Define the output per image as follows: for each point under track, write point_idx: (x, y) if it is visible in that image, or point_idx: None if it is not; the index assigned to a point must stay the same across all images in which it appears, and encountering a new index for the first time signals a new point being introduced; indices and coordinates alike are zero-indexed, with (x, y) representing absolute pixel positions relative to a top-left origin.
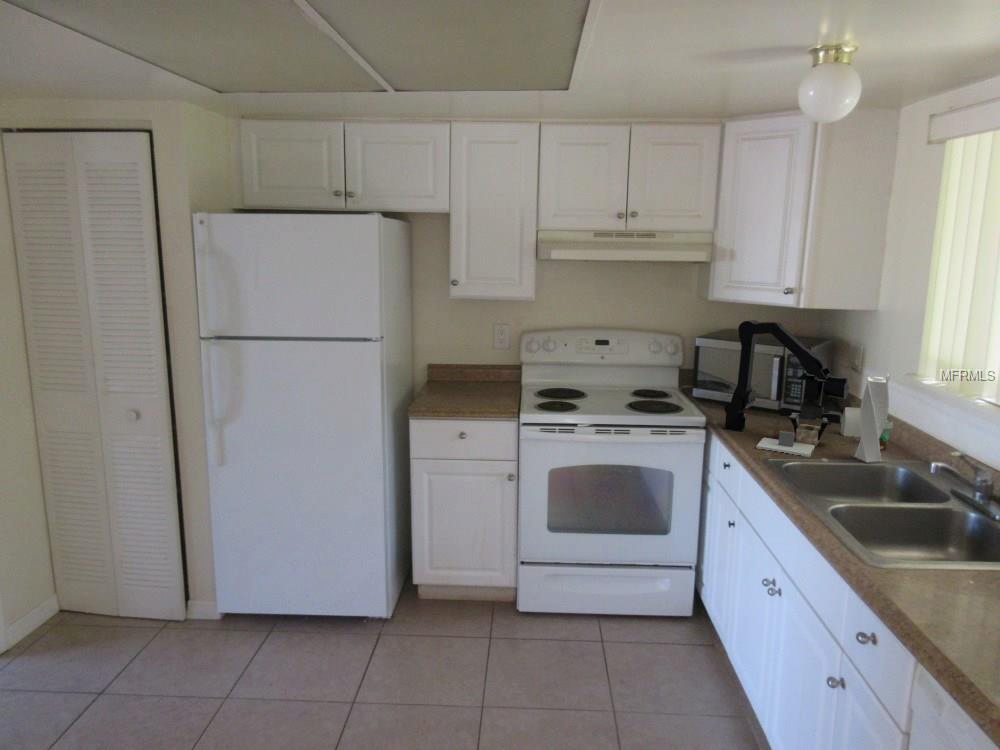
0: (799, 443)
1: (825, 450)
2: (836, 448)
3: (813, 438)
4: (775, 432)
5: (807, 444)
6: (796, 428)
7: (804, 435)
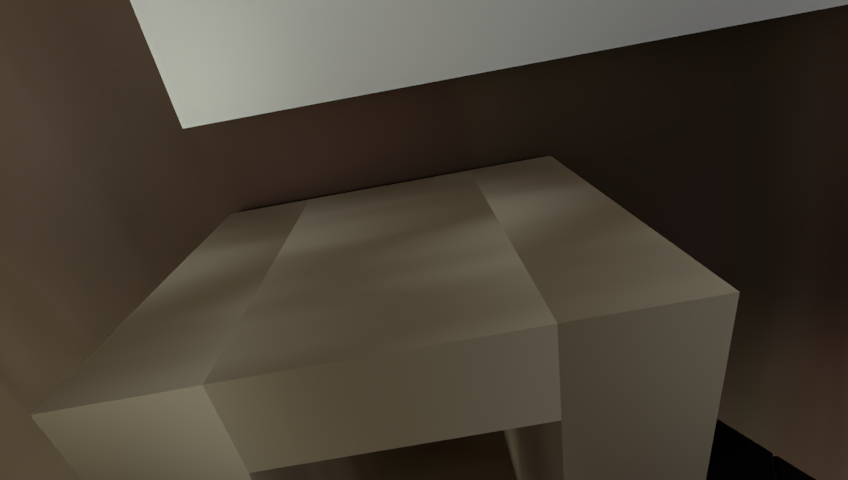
0: (458, 34)
1: (22, 131)
2: (23, 357)
3: (232, 270)
4: (826, 466)
5: (310, 84)
6: (710, 462)
7: (433, 255)
